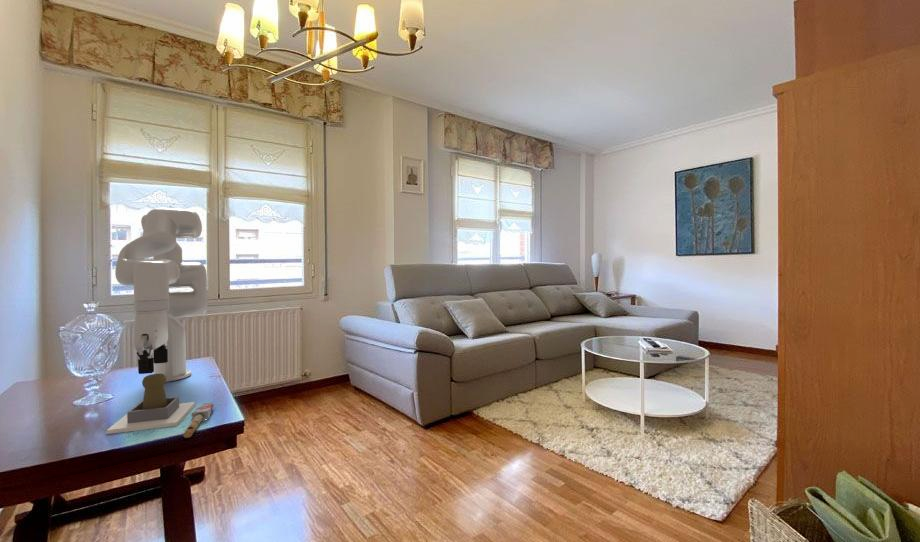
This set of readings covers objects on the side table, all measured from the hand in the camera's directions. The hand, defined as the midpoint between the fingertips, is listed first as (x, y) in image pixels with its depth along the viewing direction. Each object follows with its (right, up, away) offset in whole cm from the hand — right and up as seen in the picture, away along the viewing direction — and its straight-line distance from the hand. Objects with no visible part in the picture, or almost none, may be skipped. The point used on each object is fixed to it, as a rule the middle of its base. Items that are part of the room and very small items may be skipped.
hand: (153, 367), depth 107 cm
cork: (0, -13, +1) cm, 13 cm away
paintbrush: (+14, -14, -2) cm, 20 cm away
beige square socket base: (0, -14, 0) cm, 14 cm away
